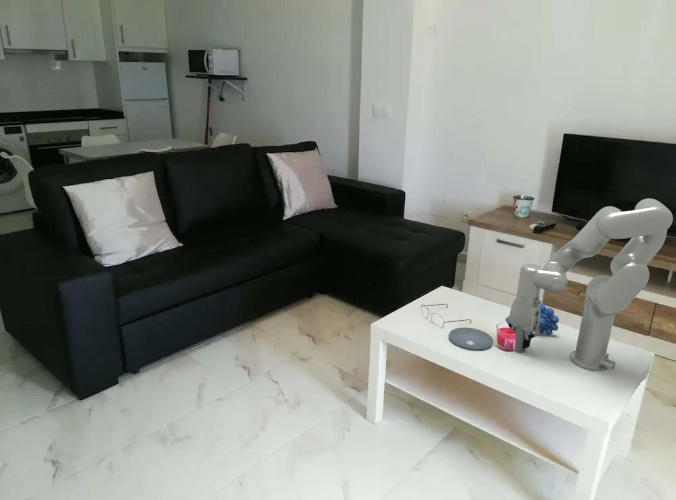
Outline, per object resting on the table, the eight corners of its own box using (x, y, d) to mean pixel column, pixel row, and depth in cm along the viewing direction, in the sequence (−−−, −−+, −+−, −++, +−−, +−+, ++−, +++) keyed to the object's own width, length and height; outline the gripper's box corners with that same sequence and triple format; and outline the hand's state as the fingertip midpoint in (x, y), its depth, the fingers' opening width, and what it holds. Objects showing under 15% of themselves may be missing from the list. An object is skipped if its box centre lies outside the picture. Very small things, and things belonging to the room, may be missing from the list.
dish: (501, 344, 193) (502, 341, 193) (471, 355, 185) (472, 352, 184) (469, 326, 206) (469, 324, 205) (439, 336, 197) (440, 333, 197)
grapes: (522, 333, 202) (527, 304, 198) (526, 326, 208) (531, 299, 204) (554, 341, 197) (559, 312, 193) (557, 334, 202) (563, 306, 198)
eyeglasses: (417, 313, 217) (418, 302, 215) (447, 308, 223) (448, 297, 221) (440, 330, 203) (441, 318, 201) (471, 324, 209) (472, 312, 207)
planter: (511, 350, 188) (515, 325, 185) (513, 345, 192) (517, 320, 189) (524, 354, 187) (528, 328, 183) (526, 348, 190) (530, 323, 187)
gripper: (554, 305, 178) (546, 352, 184) (514, 288, 192) (507, 333, 197) (541, 309, 174) (532, 358, 180) (500, 292, 188) (494, 337, 193)
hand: (519, 344), depth 189 cm, fingers closed on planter, 4 cm apart
